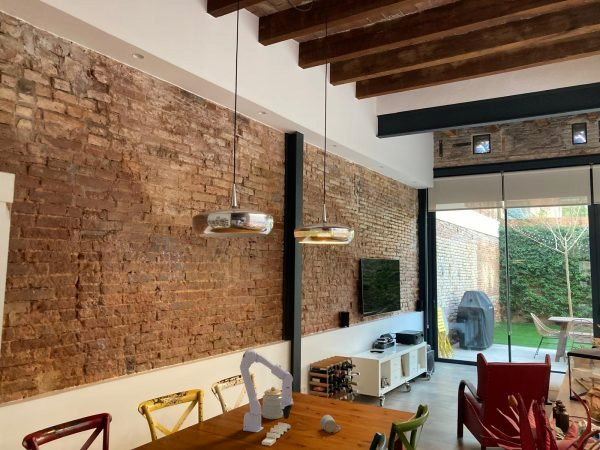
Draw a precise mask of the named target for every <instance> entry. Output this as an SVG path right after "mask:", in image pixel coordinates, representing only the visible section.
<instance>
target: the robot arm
mask: <svg viewBox="0 0 600 450" xmlns="http://www.w3.org/2000/svg"><path fill="white" fill-rule="evenodd" d="M255 363H260V364H262V365H264V366H265V367H267V368H268V369H269V370H270V371H271V374H272V375H274V376H275V377H276V378H278V379H279V380H281V381H282V386H281V392H282V402H281V405H280V409H282V411H283V419H285V420H288V419H289V417H290V413H291V410H292V408H293V405H294V400H293V397H292V396H293V393H292V392H293V390H292V389H293V387H292V386H293V381H294V377H293V376H292V374H291V373H290V372H289V371H288V370H286V369H284V368H283V367H282V365H281V364H273V363H272V362H271V361H270V360H268V359H267V358H266V357H265V356H263V355H262V354H260V353H258V352H257V351H255V350H254V349H252V348H249V349H246V350H245V352H244V353H243V354H242V358H241V361H240V365H239V369H240V373H241V377H242V380H243V383H244V387H245V390H246V394H247V398H248V406H249V407H248V408H249V411H248V412H247V411H246V412H245V414H244V417H243V429H242V431H245V432H253V433H260V432H261V431H262V430H263V429H264V426H262V410H263V407H262V405H261V404H260V401H259V400H258V397H257V395H256V390H255V387H254V383H253V380H252V377H251V376H252V375H251V373H250V370H249V369H250V367H251V366H252V365H253V364H255Z"/></svg>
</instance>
